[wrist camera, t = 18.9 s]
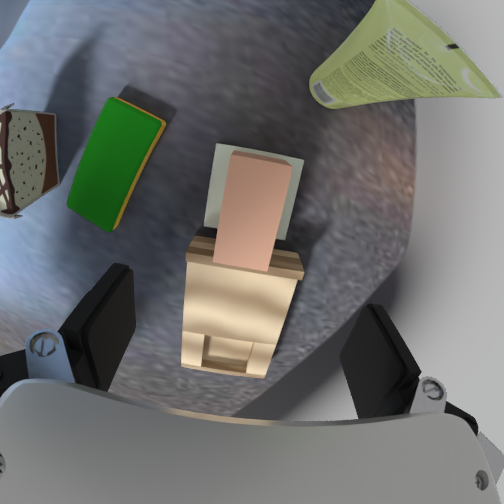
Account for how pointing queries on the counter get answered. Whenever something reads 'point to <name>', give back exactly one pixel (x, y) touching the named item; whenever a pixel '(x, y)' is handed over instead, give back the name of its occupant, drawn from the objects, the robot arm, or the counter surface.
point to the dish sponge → (113, 162)
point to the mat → (219, 182)
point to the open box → (234, 310)
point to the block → (251, 210)
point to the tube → (397, 62)
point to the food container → (26, 158)
